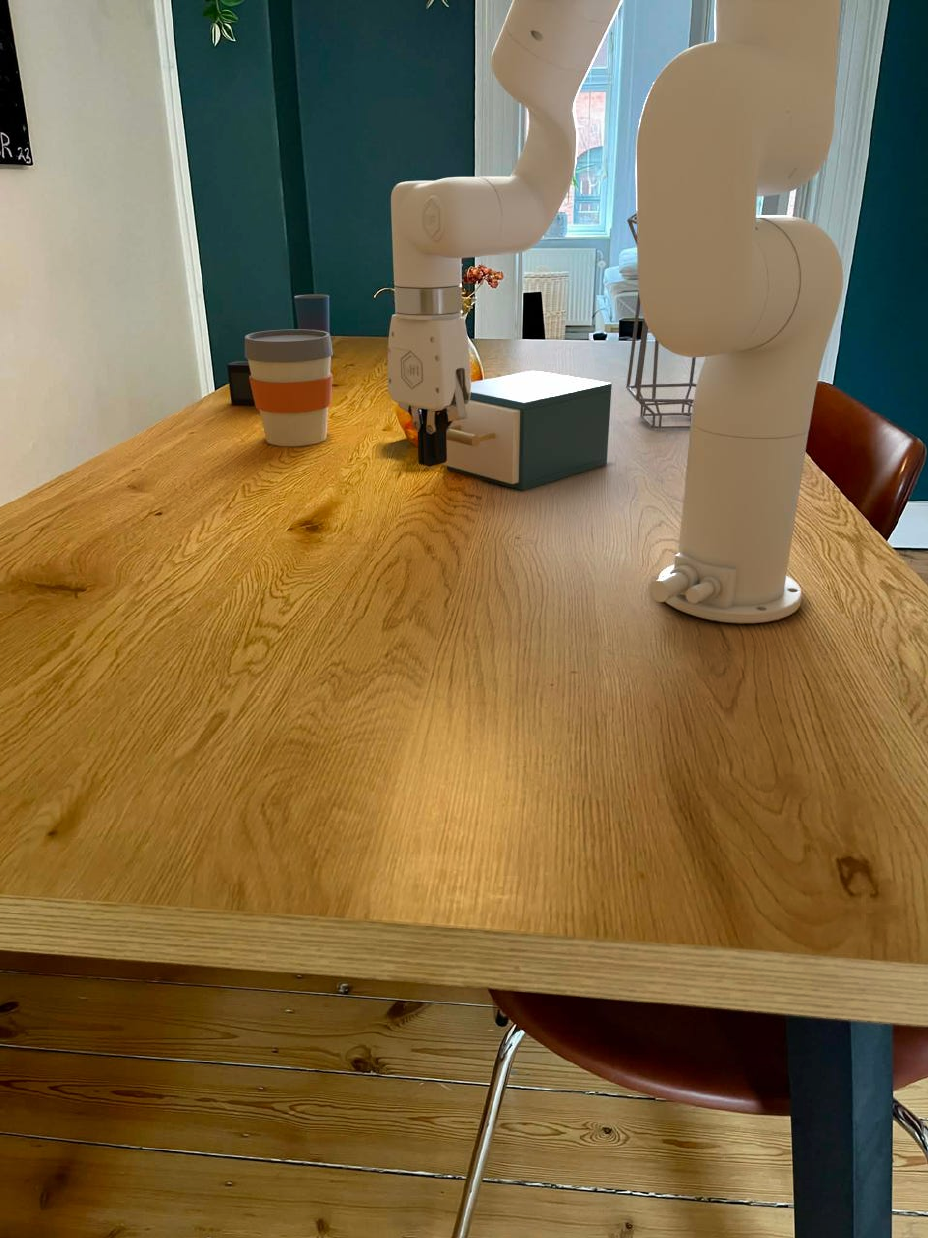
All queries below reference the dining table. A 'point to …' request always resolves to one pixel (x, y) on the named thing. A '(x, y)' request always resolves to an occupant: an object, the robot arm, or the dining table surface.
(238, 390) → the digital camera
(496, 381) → the cabinet
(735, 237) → the robot arm
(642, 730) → the dining table surface
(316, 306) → the cup
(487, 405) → the drawer
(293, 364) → the reusable coffee cup
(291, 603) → the dining table surface
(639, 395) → the geometric lantern
